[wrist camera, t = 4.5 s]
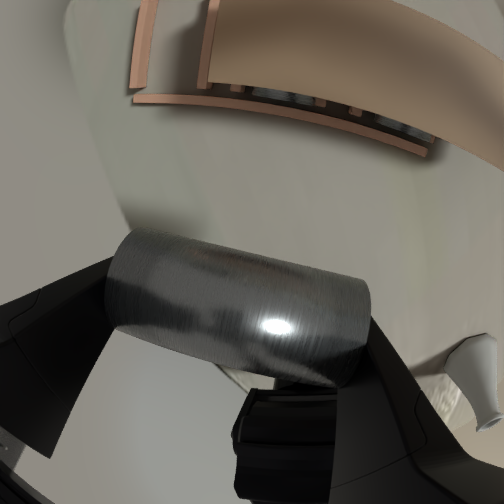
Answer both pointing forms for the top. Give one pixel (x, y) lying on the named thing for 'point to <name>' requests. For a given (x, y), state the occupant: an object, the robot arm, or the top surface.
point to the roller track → (140, 77)
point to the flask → (477, 377)
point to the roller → (238, 308)
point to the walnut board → (367, 64)
